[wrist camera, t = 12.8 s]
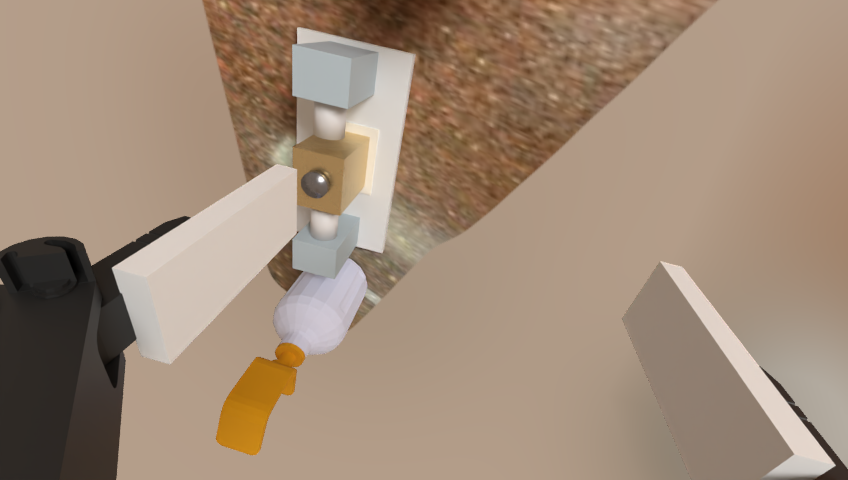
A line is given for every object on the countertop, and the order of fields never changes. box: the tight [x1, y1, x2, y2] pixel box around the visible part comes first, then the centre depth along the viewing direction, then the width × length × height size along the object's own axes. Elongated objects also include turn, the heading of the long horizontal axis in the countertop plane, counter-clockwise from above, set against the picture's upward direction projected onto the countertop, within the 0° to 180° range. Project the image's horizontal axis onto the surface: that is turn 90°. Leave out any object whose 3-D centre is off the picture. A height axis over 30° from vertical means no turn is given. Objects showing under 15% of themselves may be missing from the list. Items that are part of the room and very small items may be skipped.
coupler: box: [293, 131, 370, 216], centre depth 38 cm, size 5×6×9 cm
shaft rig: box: [292, 27, 416, 279], centre depth 39 cm, size 24×12×9 cm, turn 169°
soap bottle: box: [216, 258, 367, 455], centre depth 43 cm, size 9×9×25 cm
